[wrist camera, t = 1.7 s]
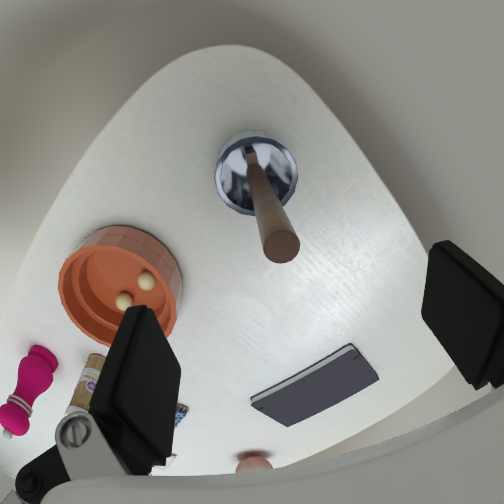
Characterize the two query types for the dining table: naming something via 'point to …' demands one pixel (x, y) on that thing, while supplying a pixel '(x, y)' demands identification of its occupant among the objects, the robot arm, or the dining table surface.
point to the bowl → (118, 281)
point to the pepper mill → (27, 390)
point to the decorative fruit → (253, 464)
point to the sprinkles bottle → (86, 385)
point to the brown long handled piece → (270, 214)
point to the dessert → (167, 463)
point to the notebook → (316, 387)
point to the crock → (234, 168)
